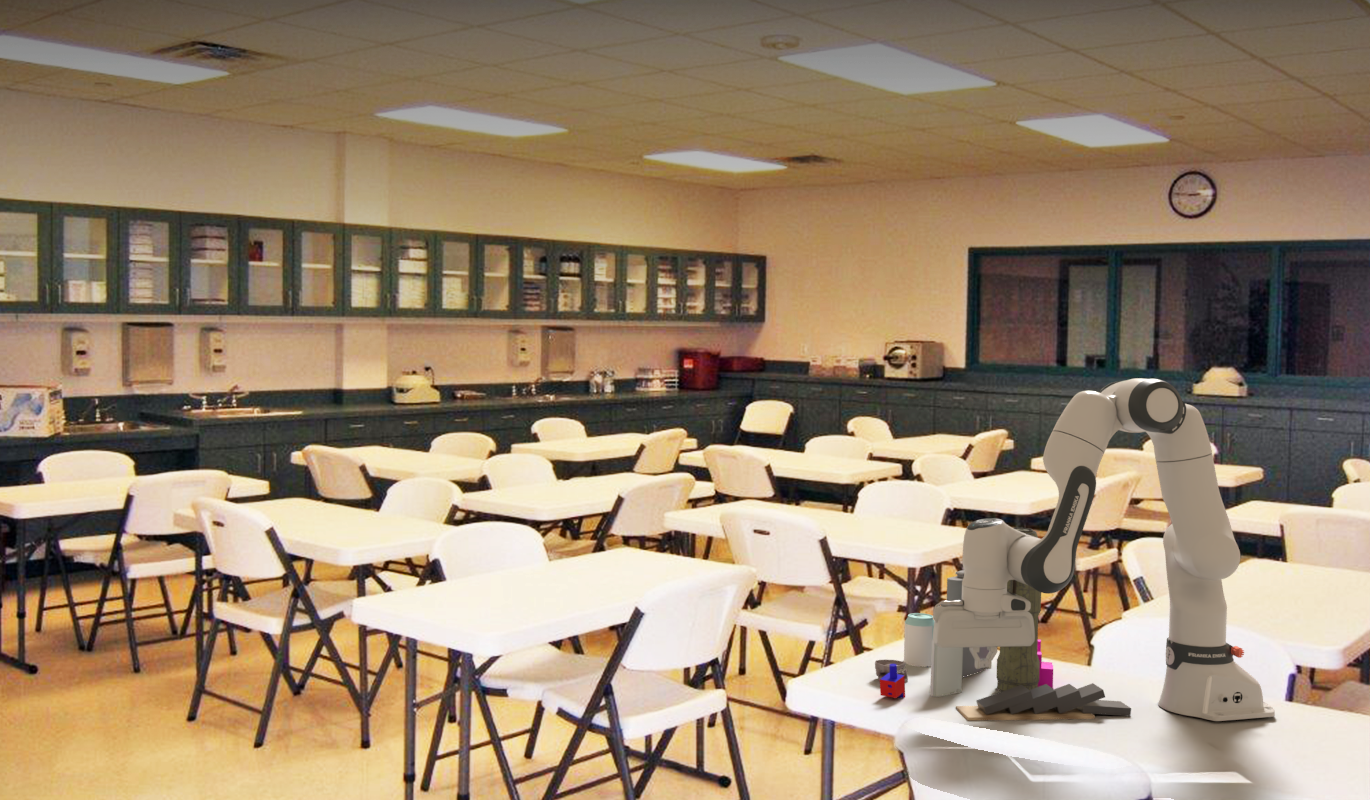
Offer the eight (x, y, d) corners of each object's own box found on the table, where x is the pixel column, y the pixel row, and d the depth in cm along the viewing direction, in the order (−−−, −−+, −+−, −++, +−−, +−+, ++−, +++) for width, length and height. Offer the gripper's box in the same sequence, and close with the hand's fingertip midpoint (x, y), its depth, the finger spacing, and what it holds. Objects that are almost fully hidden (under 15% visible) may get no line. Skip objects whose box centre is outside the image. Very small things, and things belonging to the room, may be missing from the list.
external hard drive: (962, 693, 277) (964, 636, 276) (934, 699, 272) (936, 640, 271) (957, 692, 278) (958, 634, 277) (929, 697, 273) (930, 639, 273)
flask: (961, 682, 286) (964, 569, 285) (942, 678, 289) (945, 567, 288) (996, 667, 299) (999, 560, 298) (977, 664, 302) (980, 557, 301)
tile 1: (978, 708, 264) (1024, 691, 265) (986, 715, 259) (1033, 698, 260) (976, 700, 264) (1021, 684, 265) (984, 707, 259) (1030, 691, 260)
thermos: (1046, 688, 282) (1051, 528, 280) (1028, 700, 272) (1032, 534, 271) (1007, 681, 287) (1011, 524, 285) (987, 693, 277) (992, 530, 276)
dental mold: (888, 679, 288) (888, 656, 288) (914, 685, 284) (915, 662, 283) (867, 685, 282) (867, 662, 282) (893, 691, 278) (894, 668, 278)
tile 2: (1003, 707, 264) (1048, 691, 265) (1011, 714, 259) (1057, 698, 260) (1000, 700, 264) (1046, 684, 265) (1009, 707, 259) (1055, 690, 260)
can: (898, 667, 299) (899, 615, 298) (913, 661, 304) (914, 610, 303) (925, 672, 294) (926, 620, 293) (940, 666, 299) (941, 615, 299)
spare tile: (1026, 707, 265) (1071, 691, 266) (1035, 714, 260) (1081, 697, 261) (1024, 700, 265) (1069, 683, 266) (1033, 707, 260) (1079, 690, 261)
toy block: (1052, 689, 282) (1053, 655, 281) (1023, 687, 283) (1023, 653, 283) (1051, 672, 296) (1052, 640, 296) (1022, 670, 298) (1023, 638, 298)
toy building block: (880, 703, 270) (879, 666, 269) (889, 696, 274) (888, 659, 272) (896, 706, 268) (894, 669, 267) (905, 698, 271) (903, 662, 270)
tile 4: (1050, 706, 265) (1095, 690, 266) (1059, 713, 260) (1105, 697, 261) (1047, 699, 265) (1092, 683, 266) (1057, 706, 260) (1103, 689, 261)
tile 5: (1072, 706, 266) (1119, 709, 267) (1082, 713, 261) (1130, 716, 262) (1073, 698, 266) (1120, 701, 267) (1083, 705, 261) (1131, 708, 262)
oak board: (1078, 707, 268) (1078, 704, 267) (1094, 718, 260) (1094, 715, 260) (955, 709, 265) (955, 706, 265) (968, 720, 257) (968, 717, 257)
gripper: (938, 603, 256) (937, 673, 257) (1038, 602, 258) (1037, 671, 259) (929, 597, 262) (928, 665, 263) (1027, 596, 264) (1025, 663, 265)
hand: (983, 668), depth 261 cm, fingers closed
